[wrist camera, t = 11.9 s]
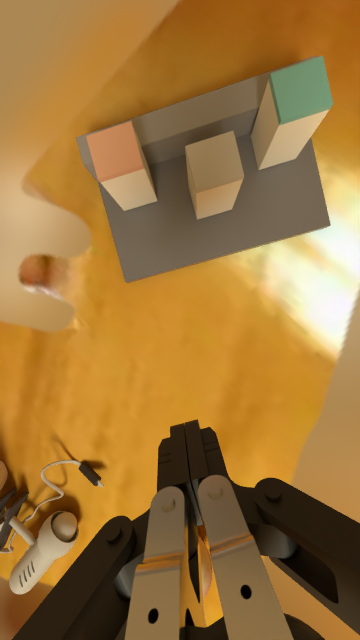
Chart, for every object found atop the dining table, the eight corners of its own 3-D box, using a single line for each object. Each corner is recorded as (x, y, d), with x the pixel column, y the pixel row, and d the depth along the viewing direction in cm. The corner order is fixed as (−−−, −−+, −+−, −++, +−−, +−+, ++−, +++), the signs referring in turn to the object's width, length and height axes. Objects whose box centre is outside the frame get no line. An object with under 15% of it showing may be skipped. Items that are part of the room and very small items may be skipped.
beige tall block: (196, 219, 31) (196, 190, 22) (188, 187, 30) (185, 146, 22) (231, 209, 30) (244, 175, 22) (223, 176, 30) (233, 130, 22)
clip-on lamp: (67, 426, 39) (-17, 525, 37) (45, 439, 32) (-58, 559, 30) (123, 479, 38) (39, 584, 35) (111, 503, 31) (9, 632, 29)
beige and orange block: (124, 211, 31) (97, 179, 23) (115, 179, 31) (85, 136, 23) (157, 200, 31) (142, 165, 23) (149, 168, 31) (131, 120, 22)
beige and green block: (258, 170, 30) (281, 120, 21) (250, 136, 29) (270, 73, 21) (295, 158, 29) (333, 104, 21) (287, 124, 29) (322, 55, 21)
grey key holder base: (127, 282, 33) (115, 279, 28) (94, 162, 32) (75, 137, 27) (326, 227, 31) (350, 213, 26) (296, 96, 30) (316, 55, 25)
